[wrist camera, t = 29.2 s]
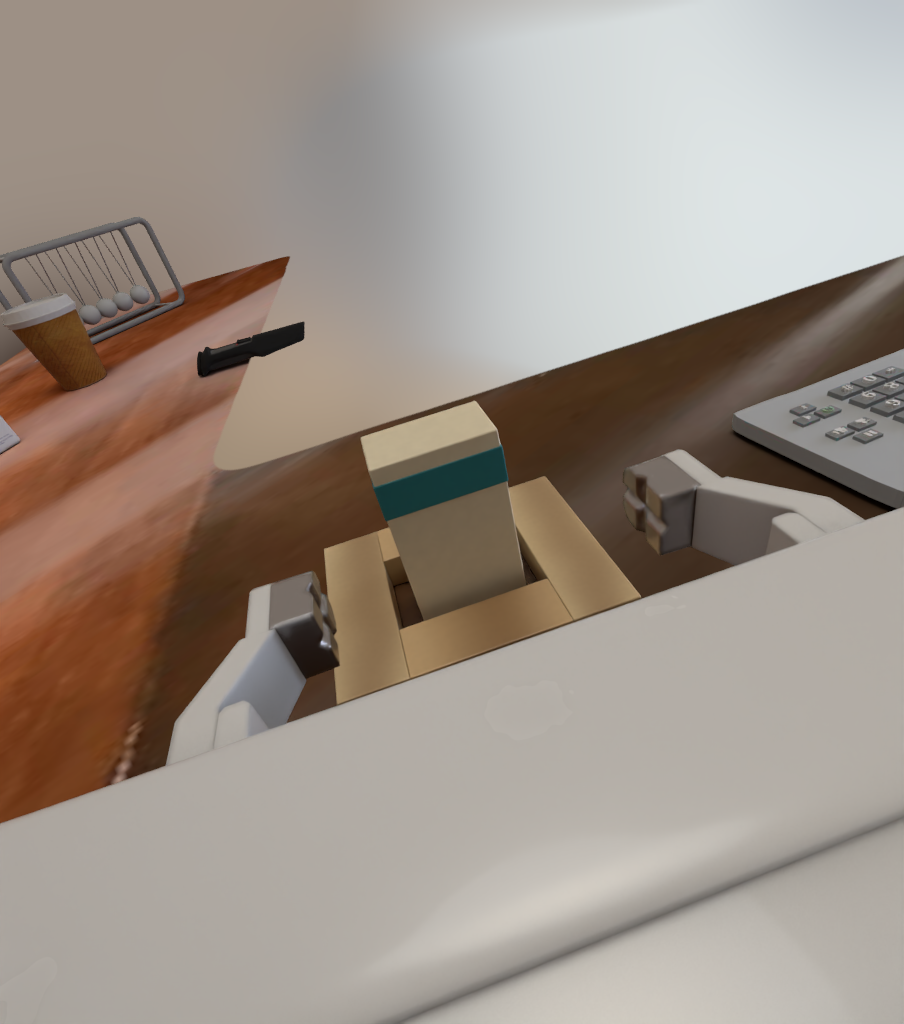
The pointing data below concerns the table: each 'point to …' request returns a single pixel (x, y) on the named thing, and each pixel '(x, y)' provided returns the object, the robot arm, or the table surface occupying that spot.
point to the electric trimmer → (249, 348)
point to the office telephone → (841, 428)
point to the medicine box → (7, 436)
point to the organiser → (478, 627)
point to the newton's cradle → (120, 298)
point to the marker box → (447, 507)
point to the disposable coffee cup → (57, 339)
